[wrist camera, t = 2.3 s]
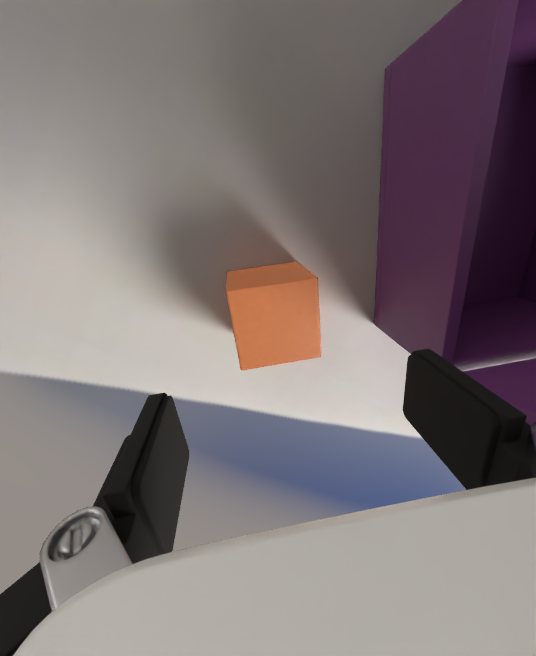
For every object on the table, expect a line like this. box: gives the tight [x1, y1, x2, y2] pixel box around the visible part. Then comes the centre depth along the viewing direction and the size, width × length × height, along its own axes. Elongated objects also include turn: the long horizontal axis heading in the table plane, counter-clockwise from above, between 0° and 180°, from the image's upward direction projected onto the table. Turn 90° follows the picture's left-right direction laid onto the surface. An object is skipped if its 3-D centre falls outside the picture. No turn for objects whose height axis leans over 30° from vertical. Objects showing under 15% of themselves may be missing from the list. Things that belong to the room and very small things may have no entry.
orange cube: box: [226, 261, 321, 370], centre depth 20 cm, size 6×6×6 cm
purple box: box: [374, 0, 536, 371], centre depth 18 cm, size 18×14×8 cm
